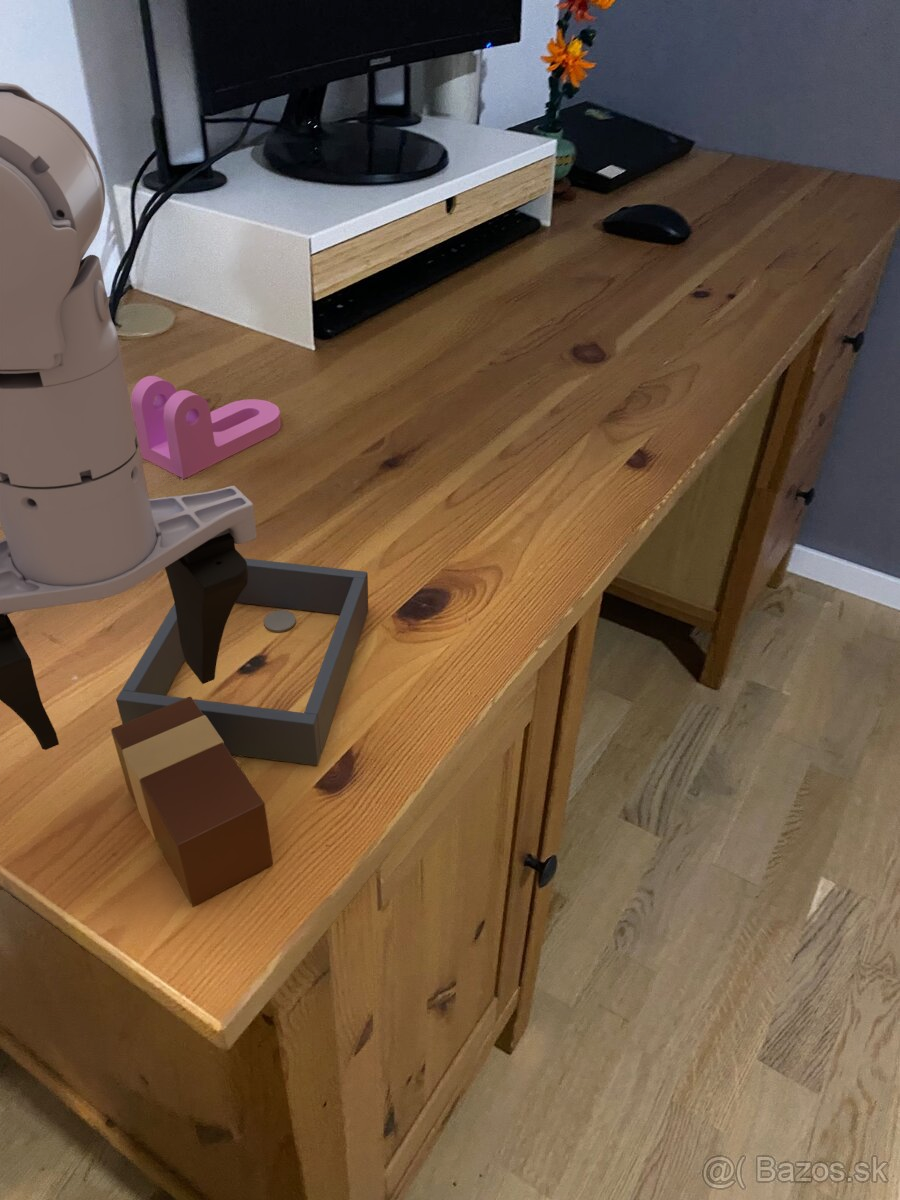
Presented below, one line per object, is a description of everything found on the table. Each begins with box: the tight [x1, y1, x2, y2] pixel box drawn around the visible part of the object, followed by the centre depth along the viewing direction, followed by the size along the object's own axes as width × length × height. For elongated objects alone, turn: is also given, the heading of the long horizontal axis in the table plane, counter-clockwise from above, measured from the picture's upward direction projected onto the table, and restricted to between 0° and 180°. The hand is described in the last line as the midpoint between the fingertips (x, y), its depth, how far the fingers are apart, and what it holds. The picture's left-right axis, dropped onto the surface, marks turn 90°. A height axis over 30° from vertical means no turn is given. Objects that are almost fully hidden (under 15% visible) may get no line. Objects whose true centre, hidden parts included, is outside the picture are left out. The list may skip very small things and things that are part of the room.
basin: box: [115, 557, 369, 766], centre depth 58 cm, size 12×15×4 cm
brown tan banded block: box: [110, 696, 274, 907], centre depth 48 cm, size 5×9×5 cm, turn 36°
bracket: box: [130, 375, 282, 480], centre depth 81 cm, size 13×6×7 cm, turn 143°
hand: (125, 701), depth 44 cm, fingers open, 7 cm apart
